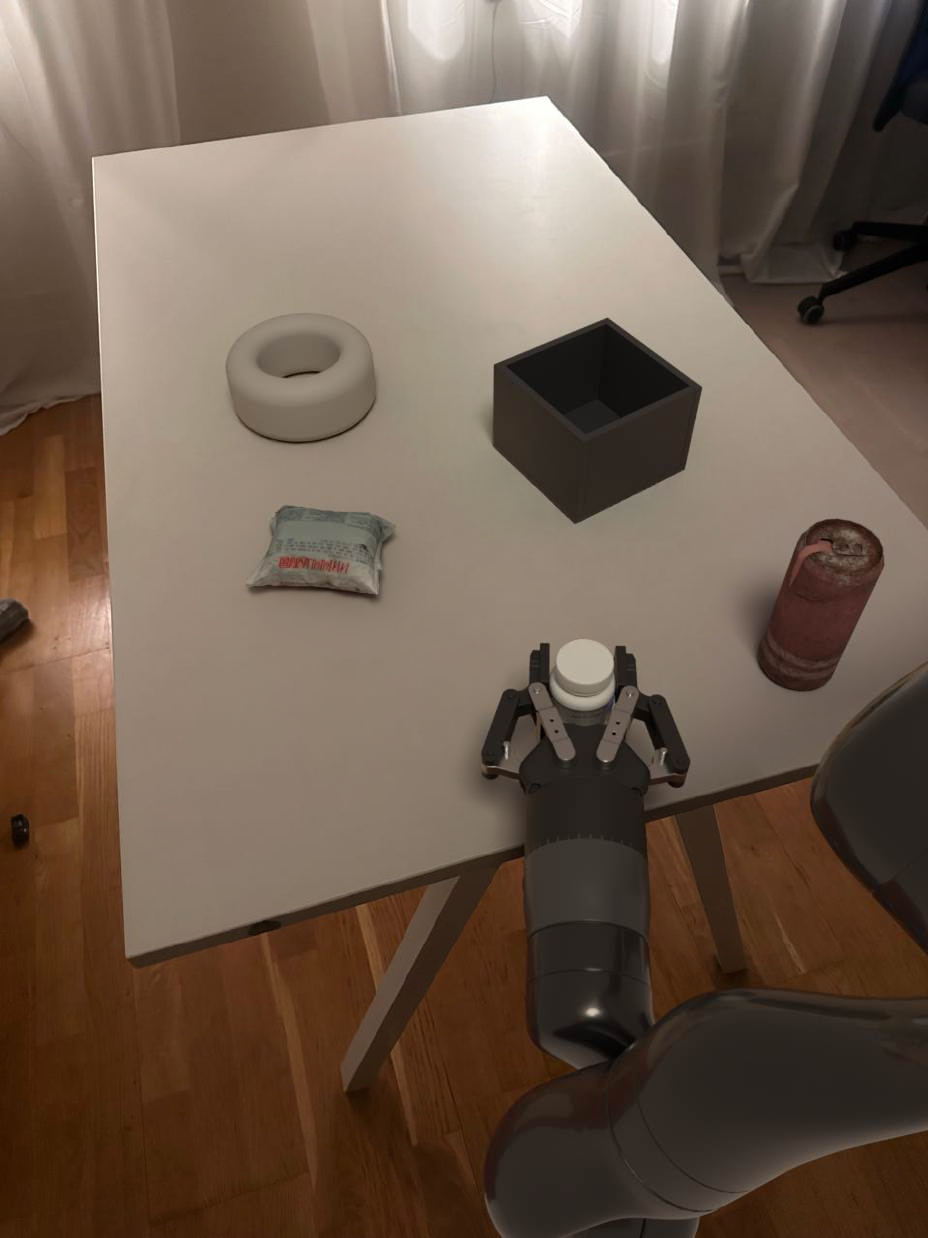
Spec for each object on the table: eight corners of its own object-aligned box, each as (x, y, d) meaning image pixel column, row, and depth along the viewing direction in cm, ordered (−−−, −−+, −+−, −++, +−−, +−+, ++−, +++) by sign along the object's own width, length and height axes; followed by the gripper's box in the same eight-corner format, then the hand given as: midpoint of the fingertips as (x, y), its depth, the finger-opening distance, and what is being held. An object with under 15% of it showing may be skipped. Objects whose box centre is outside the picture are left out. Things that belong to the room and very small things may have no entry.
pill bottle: (614, 752, 70) (627, 684, 64) (551, 760, 70) (558, 693, 64) (600, 699, 73) (611, 630, 67) (539, 707, 73) (544, 638, 67)
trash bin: (598, 398, 101) (607, 316, 94) (685, 469, 94) (702, 386, 86) (492, 446, 97) (493, 364, 89) (575, 524, 89) (583, 442, 82)
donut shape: (207, 424, 99) (192, 370, 94) (283, 346, 108) (273, 293, 103) (332, 462, 95) (323, 408, 90) (401, 379, 104) (397, 325, 99)
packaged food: (380, 612, 83) (375, 572, 79) (247, 599, 84) (237, 560, 80) (398, 541, 88) (394, 501, 85) (273, 531, 89) (264, 491, 86)
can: (739, 647, 80) (780, 527, 69) (805, 626, 81) (855, 505, 70) (780, 703, 76) (829, 586, 65) (848, 680, 77) (907, 561, 67)
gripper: (716, 849, 55) (690, 620, 66) (466, 837, 56) (481, 614, 66) (695, 903, 60) (674, 685, 71) (469, 892, 61) (482, 678, 72)
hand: (581, 652), depth 69 cm, fingers closed on pill bottle, 4 cm apart
